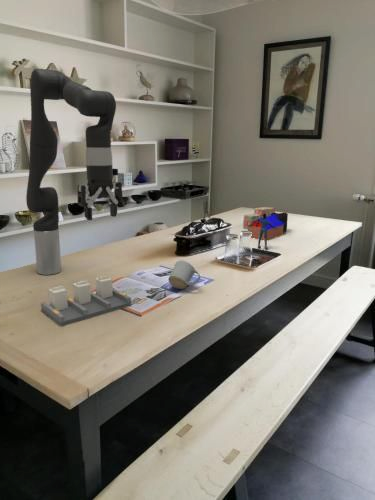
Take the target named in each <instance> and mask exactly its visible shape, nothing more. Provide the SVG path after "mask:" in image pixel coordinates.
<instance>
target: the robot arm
mask: <svg viewBox="0 0 375 500" xmlns="http://www.w3.org/2000/svg"><path fill="white" fill-rule="evenodd" d="M29 81H30V84H29V85H30V89H29V90H30V116H31V117H30V134H29V135H30V137H29V167H28V168H29V169H28V179H27V180H28V181H27V187H26V195H25V196H26V197H25V200H26V201H25V202H26V207H27V209H28V211H29V212H30V213H33V214H34V213H35V214H36V213H37V214H38V213H45V214H44V215H43V216H42V217H41V218H39V219H37V220H35V221H34V222H33V224H32V226H33V227H32V229H33V237H34V238H33V239H34V249H35V261H36V262H35V263H36V273H38V274H40V275H44V276H45V275H46V276H47V275H54V274H55V275H56V274H58V273H61V272H62V259H61V257H62V256H61V244H60V232H59V231H60V230H59V222H60V217H59V211H60V209H59V195H58V192H57V190H56V188H54V187H52V186H46V187H43V186H42V187H41V184H42V181H43V179H44V177H45V175H46V174H47V172H48V171H49V170H50V168H51V167H52V166H53V164H54V163H55V161H56V159H57V155H58V146H59V145H58V143H59V139H58V135H57V133H56V131H55V130H54V127H53V126H52V124H51V123H50V121H49V118H48V116H47V114H46V109H45V100H49V101H50V100H53V101H58V100H64V101H65V103H67V105H69V106H70V107H73V108H74V109H76V110H77V111H78V112H79V114H80V115H82V116H84V117H90V118H92V117H93V118H99V120H98V123H97V124H94V125H93V124H92V125H89V126H88V127H86V129H85V147H86V148H85V149H86V151H85V166H86V170H85V171H86V179H87V184H85V185H84V184H78V185H77V205H78V206H81V207H83V208H84V209H83V210H84V218H85V219H86V220H88V221H93V208H92V206H93V205H94V203H95V202H96V201H97V200H99V199H107V200H108V202H109V203H110V204H109V213H110V214H109V215H110V217H117V215H118V204H119V203H122V202H123V200H124V199H123V188H122V187H123V185H122V182H119V181H114V182H113V178H114V176H113V174H114V173H113V171H114V168H113V167H114V165H113V154H112V153H113V152H112V141H111V140H112V139H111V137H112V136H111V133H112V128H113V123H114V119H115V115H116V111H117V102H116V98H115V96H114V94H113V93H111V92H110V91H104V90H93V89H92V88H90V87H88V86H87V85H84V84H81V83H79V82H75V81H74V80H73V79H71V78H70V77H69V76H68V75H66V74H65V73H63V72H61V71H59V70H55V69H47V68H34V69H32V72H31V73H30V80H29ZM112 190H113V192H114V193H113V192H112ZM87 192H88V193H87Z"/></svg>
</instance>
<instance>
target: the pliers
mask: <svg viewBox="0 0 375 500" xmlns="http://www.w3.org/2000/svg"><path fill="white" fill-rule="evenodd" d="M202 201H203V202H202V203H203V204H202V206H203V217H202V220H203V219H206V216H207V218H208V219H209V218H211V216H210V213H209V199H208V197H206V198H203V199H202Z"/></svg>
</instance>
